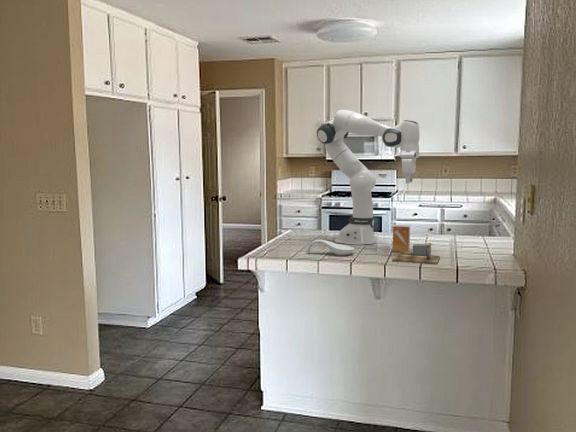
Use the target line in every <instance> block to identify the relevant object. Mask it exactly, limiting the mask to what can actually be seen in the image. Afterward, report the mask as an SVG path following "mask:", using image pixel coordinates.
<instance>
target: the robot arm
mask: <svg viewBox="0 0 576 432" xmlns="http://www.w3.org/2000/svg"><path fill="white" fill-rule="evenodd" d="M349 134H352V135H356V136H377V137H381V138H382V143H383V144H384V146H386V147H388V148H400V150H399V151H400V155H399V156H400V159H401V170H402V174H403V175H404V177H405V184H411V183H413V178H414V174H415V173H416V169H417V168H416V167H417V166H416V163H417V162H416V161H417V159H418V158H420V146H419V144H420V143H419V142H420V138H421V137H420V125H419V123H418V122H417V121H415V120H410V119H409V120H407V119H404V120H402V121H401V122H400V123H398V124H397V125H395V126H389V125H386V124H383V123H381V122H378V121H377V120H374V119H372V118H370V117H368V116H366V115H364V114H362V113H359V112H356V111H354V110H349V109H339V110H337V111H336V112H335V114H334V117H333V118H332V119H330V120H328V121H327V122H325V123H324V124H321V125H320V126H319V127H318V128H317V130H316V137H317V139H318V141H319V143H321V144H323V145H325V147H324V148H325V150H326V152H327V154H328V156H329V157H330V159H331V160H332V161H333V163H334V164H335V165H336V167H338V169H339V170H340V172H341V173H343V174H344V175H345V176H346V177H347V178H348V179H349V187H350V192H351V199H352V216H350V217H349V219H348V222H349V223H348V224H347V225H345V226H344V227H342V228H341V229H340V231H339V235H338V237H337V238H335V239H334V243H336V244H347V245H356V246H361V245H362V246H363V245H372V244H375V243H376V238H375V233H374V226H375V219H374V214H373V213H374V202H373V198H372V190H373V189H374V188H375V186H376V183H377V178H376V176H375V175H374V174H373V173H372V172H371V171H370V170H369V169H368V167H366V166H365V165H364V164H363V163H362V162H361V161H360V159H358V158H357V157H356V155H355V154H354V153H353V152H352V151H351V149H350V148H349V147H348V146H347V144H346V143H345V142H344V139H347V138H348V136H349Z"/></svg>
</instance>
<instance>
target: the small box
mask: <svg viewBox="0 0 576 432" xmlns="http://www.w3.org/2000/svg"><path fill="white" fill-rule="evenodd" d="M410 242H411V225H408V224H394V225H393V227H392V252H396V253H397V252H398V253H400V252H401V251H402V252H410V245H411V243H410Z"/></svg>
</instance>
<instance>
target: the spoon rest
mask: <svg viewBox="0 0 576 432" xmlns="http://www.w3.org/2000/svg"><path fill="white" fill-rule="evenodd" d="M317 243H321V244H323V245H325V246H326V247H327V248H328V249H329V250H330V251H331V252H332V253H333V254H334V255H335V256H348V255H349V256H350V255H351V254H352V253H353V252H354V251H355V248H354V247H353V246H350V245H344V244H341V243H336V242H332V241H329V240H326V239H315V240H313V241H311V242H310V243H309V244H308V245H307V248H306V251H305V253H306V254H307V255H308V254H310V252H311V248H312V246H313V245H314V244H317Z"/></svg>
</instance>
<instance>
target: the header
mask: <svg viewBox="0 0 576 432" xmlns="http://www.w3.org/2000/svg"><path fill="white" fill-rule="evenodd" d="M426 244H427V256H413V251H409V252H402V251H401V252H398V253H397V252H396V254H395V256H393V258H392V259H391V261H392V262H395V261H396V262H397V263H398V262H399V263H409V262H412V263H413V264H423V263H425V264H427V265H438V264H439V261H440V259H441V255H432V243H431V242H427V243H426ZM425 264H424V265H425Z"/></svg>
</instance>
